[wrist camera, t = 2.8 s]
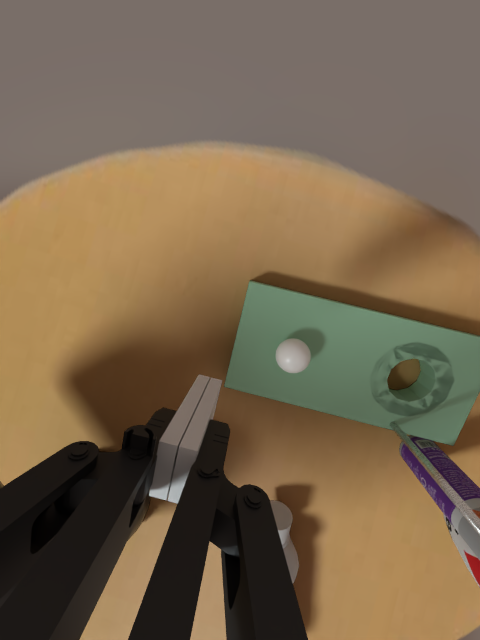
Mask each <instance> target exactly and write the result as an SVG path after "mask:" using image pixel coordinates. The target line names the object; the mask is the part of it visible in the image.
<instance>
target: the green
mask: <svg viewBox="0 0 480 640" xmlns="http://www.w3.org/2000/svg"><path fill="white" fill-rule="evenodd" d="M292 338H294V339H299V340H301V341H303V342H304V343H305V344H306V345H307V346H308V348H309V350H310V353H311V360H310V363H309V365H308V366H307V368H306V369H305V370H303V371H301V372H299V373H288V372H286V371H284V370H283V369H281V368H280V367H279V365H278V363H277V361H276V350H277V348H278V346H279V344H280V343H282V342H283V341H284V340H287V339H292ZM413 358H415V359H418V360H419V363H420V369H421V372H420V374H419V376H418V379H417V381H416V382H415V383H413V384H412V385H411V386H410V387H408V388H405V389H401V390H392V389H388V384H387V378H388V376H389V373H390V371H391V369H392V368H393V367H394V366H396V365H397V364H398V363H399V362H401V361H404V360H408V359H413ZM224 387H227V388H231V389H235V390H239V391H242V392H246V393H250V394H254V395H258V396H262V397H266V398H270V399H273V400H277V401H281V402H285V403H289V404H293V405H297V406H301V407H304V408H308V409H312V410H316V411H320V412H324V413H328V414H332V415H336V416H339V417H343V418H347V419H351V420H355V421H359V422H363V423H367V424H370V425H374V426H378V427H382V428H386V429H390V430H393V429H392V428H391V426H390V423H391V422H396V423H397V425H398V426H399V427H400V428H401V429H402V430H403V431H404V433H405V434H409V435H413V436H417V437H421V438H425V439H429V440H432V441H436V442H440V443H444V444H448V445H452V446H453V445H454V443H455V441H456V439H457V437H458V435H459V433H460V431H461V429H462V427H463V425H464V423H465V421H466V419H467V417H468V414H469V412H470V410H471V408H472V406H473V404H474V402H475V400H476V398H477V396H478V394H479V392H480V336H478V335H474V334H470V333H466V332H462V331H458V330H454V329H449V328H445V327H441V326H437V325H433V324H429V323H425V322H421V321H416V320H412V319H408V318H404V317H400V316H396V315H392V314H388V313H383V312H379V311H375V310H371V309H367V308H363V307H359V306H355V305H351V304H346V303H342V302H338V301H334V300H330V299H326V298H322V297H318V296H313V295H309V294H305V293H301V292H297V291H293V290H289V289H285V288H280V287H276V286H272V285H268V284H264V283H260V282H256V281H252V280H250V281H249V285H248V289H247V293H246V298H245V302H244V306H243V310H242V314H241V318H240V322H239V327H238V331H237V335H236V339H235V343H234V347H233V351H232V356H231V360H230V364H229V368H228V372H227V376H226V381H225V385H224Z"/></svg>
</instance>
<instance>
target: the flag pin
mask: <svg viewBox="0 0 480 640" xmlns="http://www.w3.org/2000/svg"><path fill="white" fill-rule="evenodd" d="M390 426H391V428H392V429H393V430H394V431H395V432H396V434H397V435H398V436H399V437H400V439H401V440H402V441H403V442H404V443H405V445H406V446H407V447H408V448H409V450H410V451H411V452H412V453H413V454H414V456H415V457H416V458H417V459H418V461H419V462H420V463H421V464H422V465H423V467H424V468H425V469H426V470H427V472H428V473H429V474H430V475H431V476H432V478H433V479H434V480H435V481H436V483H437V484H438V485H439V486H440V488H441V489H442V490H443V491H444V492H445V494H446V495H447V496H448V497H449V499H450V500H451V501H452V502H453V503H454V505H455V506H456V507H457V508H458V510H459V511H460V512H461V513H462V514H463V516H464V517H465V518H466V519H467V521H468V522H469V523H470V524H471V525H472V527H473V528H474V529H475V530H476V532H477V533H478V534H479V535H480V511H476V510H473V509H471V508H470V507H469V506H468V505H467V504H466V503H465V502H464V500H463V499H462V498H461V497H460V496H459V495H458V493H457V492H456V491H455V490H454V489H453V488H452V487H451V485H450V484H449V483H448V482H447V481H446V480H445V479H444V477H443V476H442V475H441V474H440V473H439V472H438V471H437V469H436V468H435V467H434V466H433V465H432V464H431V462H430V461H429V460H428V459H427V458H426V457H425V456H424V454H423V453H422V452H421V451H420V450H419V449H418V448H417V446H416V445H415V444H414V443H413V442H412V441H411V440H410V438H409V437H408V436H407V435H406V434H405V433H404V431H403V430H402V429H401V428H400V427H399V426H398V425H397V423H396V422H391V423H390Z"/></svg>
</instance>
